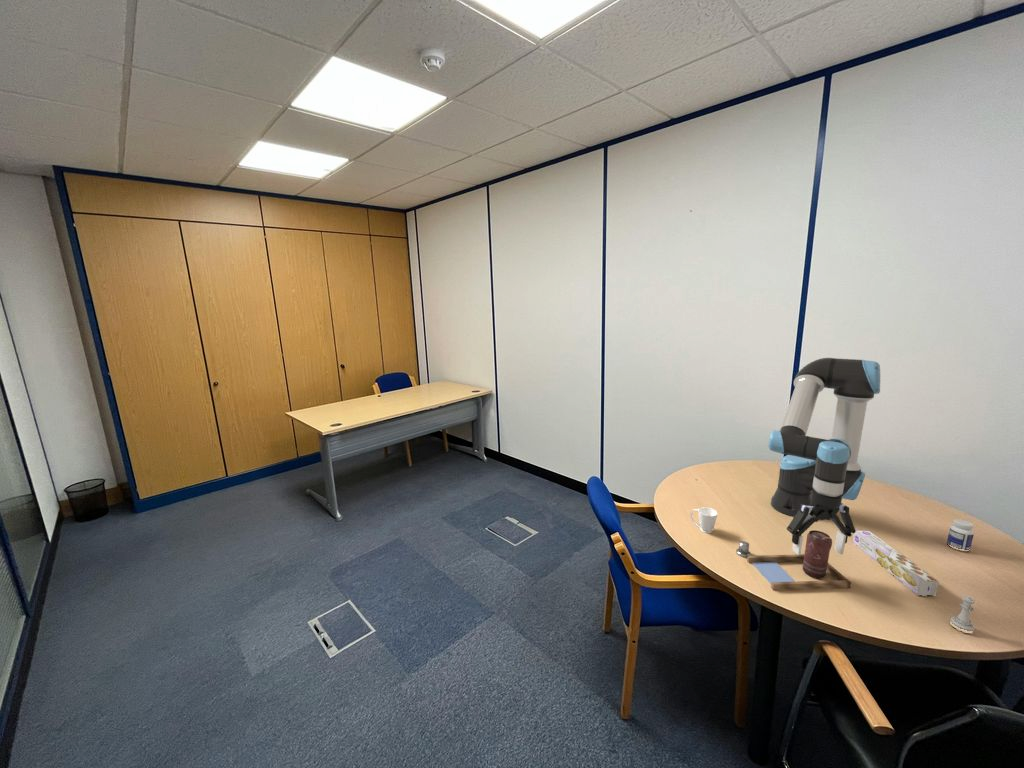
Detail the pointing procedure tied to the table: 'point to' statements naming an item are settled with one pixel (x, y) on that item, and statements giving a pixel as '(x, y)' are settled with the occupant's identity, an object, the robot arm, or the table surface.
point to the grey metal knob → (743, 549)
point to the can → (817, 554)
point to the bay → (838, 583)
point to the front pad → (772, 572)
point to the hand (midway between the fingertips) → (817, 552)
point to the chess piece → (964, 615)
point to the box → (896, 563)
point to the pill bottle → (961, 534)
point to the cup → (705, 519)
